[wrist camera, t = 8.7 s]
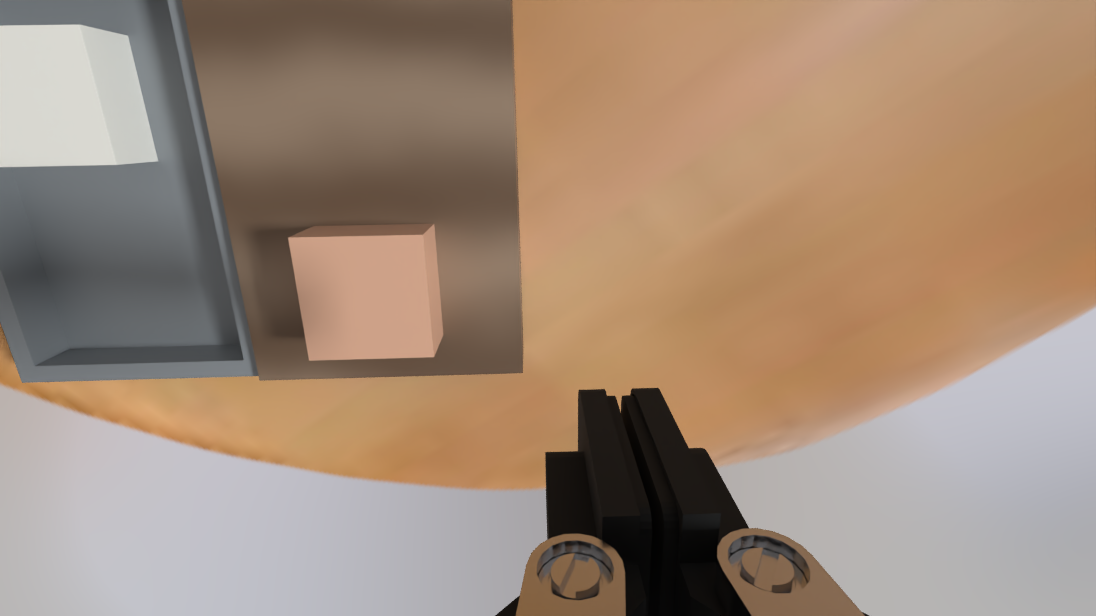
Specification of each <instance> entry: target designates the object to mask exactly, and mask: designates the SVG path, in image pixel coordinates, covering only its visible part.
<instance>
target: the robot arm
mask: <svg viewBox="0 0 1096 616" xmlns="http://www.w3.org/2000/svg"><path fill="white" fill-rule="evenodd" d="M546 502H547V503H546V504H547V505H546V506H547V538H548V539H547V540H546V541H545V542H543V543H541V544H540V545H539V546H538V547H537V548H536V549H535V550H534V551H533V552H532V553H531V555H530V557H529V560H528V562H527V565H526V569H525V574H524V579H523V583H522V588H521V593H520V596H519V597H517V598H516V599H515V600H514V601H512V602H511V603H510V604H509V605H508V606H506V607H505V608H504V609H503V610H502V611H500V612H499V613H498V614H497V615H496V616H869V615H867V614H865V613H863V612H861V611H860V610H859V608H858V607H857V606H856V605H855V604H854V603H853V602H852V600H851V599H850V598H849V597H848V596H847V595H846V594H845V592H844V591H843V590H842V589H841V588H840V587H839V585H838V584H837V583H836V582H835V581H834V580H833V579H832V577H831V576H830V575H829V574H828V573H827V572H826V571H825V569H824V568H823V567H822V566H821V565H820V564H819V562H818V561H817V560H816V559H815V558H814V557H813V556H812V555H811V554H810V553H809V552H808V551H807V550H806V549H805V548H804V547H803V546H801V545H800V544H798V543H796V542H795V541H793V540H792V539H790V538H788V537H786V536H784V535H781V534H778V533H776V532H773V531H769V530H763V529H758V528H751V529H750V528H749V527H748V525H747V524H746V522H745V520H744V518H743V517H742V514H741V513H740V511H739V509H738V507H737V505H736V503H735V502H734V500H733V498H732V496H731V494H730V493H729V491H728V489H727V487H726V485H725V483H724V482H723V480H722V478H721V476H720V474H719V473H718V471H717V469H716V467H715V465H714V463H713V462H712V460H711V458H710V456H709V454H708V453H707V451H706V450H705V449H703V448H688V446H687V444H686V442H685V440H684V438H683V436H682V434H681V432H680V430H679V428H678V426H677V424H676V422H675V420H674V418H673V416H672V414H671V412H670V410H669V408H668V406H667V404H666V402H665V400H664V398H663V396H662V394H661V392H660V390H659V388H639V389H632V390H631V394H630V395H629V396H622V400H621V413H620V409H619V406H618V403H617V400H616V397H615V396H607V395H606V391H605V389H598V390H579V394H578V451H574V452H546Z"/></svg>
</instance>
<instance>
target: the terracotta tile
mask: <svg viewBox="0 0 1096 616" xmlns="http://www.w3.org/2000/svg"><path fill="white" fill-rule="evenodd" d="M288 240H289V246H290V252H291V258H292V264H293V269H294V275H295V281H296V287H297V293H298V299H299V305H300V310H301V316H302V322H303V328H304V334H305V340H306V346H307V351H308V357H309V361H315V360H351V359H387V358H424V357H434V356H435V354H436V351H437V349H438V346H439V344H440V342H441V339H442V337H443V324H442V312H441V300H440V288H439V276H438V264H437V252H436V240H435V227H434V224H391V225H343V226H313V227H310V228H308V229H306V230H304V231H302V232H299V233H297V234H295V235H293V236H290V237H288Z"/></svg>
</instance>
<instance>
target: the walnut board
mask: <svg viewBox="0 0 1096 616" xmlns="http://www.w3.org/2000/svg"><path fill="white" fill-rule="evenodd" d="M182 5H183V10H184V15H185V19H186V24H187V29H188V34H189V39H190V44H191V49H192V54H193V58H194V63H195V68H196V73H197V78H198V83H199V88H200V93H201V97H202V102H203V107H204V112H205V117H206V122H207V127H208V131H209V136H210V141H211V146H212V151H213V156H214V161H215V166H216V170H217V175H218V180H219V185H220V190H221V195H222V200H223V204H224V209H225V214H226V219H227V224H228V229H229V234H230V239H231V243H232V248H233V253H234V258H235V263H236V268H237V273H238V277H239V282H240V287H241V292H242V297H243V302H244V307H245V312H246V316H247V321H248V326H249V331H250V336H251V341H252V346H253V350H254V355H255V360H256V365H257V370H258V375H259V380H295V379H330V378H365V377H401V376H436V375H471V374H506V373H523V324H522V293H521V262H520V230H519V199H518V168H517V137H516V105H515V74H514V43H513V11H512V0H182ZM391 224H434V227H435V240H436V252H437V264H438V276H439V288H440V300H441V312H442V324H443V337H442V339H441V342H440V344H439V346H438V349H437V351H436V354H435V356H434V357H424V358H387V359H351V360H315V361H309V357H308V351H307V346H306V340H305V334H304V328H303V322H302V316H301V310H300V305H299V299H298V293H297V287H296V281H295V275H294V269H293V264H292V258H291V252H290V246H289V240H288V237H290V236H293V235H295V234H297V233H299V232H302V231H304V230H306V229H308V228H310V227H313V226H343V225H391Z"/></svg>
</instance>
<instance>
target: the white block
mask: <svg viewBox="0 0 1096 616" xmlns="http://www.w3.org/2000/svg"><path fill="white" fill-rule="evenodd" d="M156 161H158V158H157V154H156V150H155V146H154V142H153V138H152V134H151V129H150V125H149V121H148V117H147V113H146V109H145V104H144V100H143V96H142V92H141V88H140V84H139V80H138V75H137V71H136V67H135V63H134V59H133V55H132V51H131V46H130V42H129V38H128V36H127V35H123V34H118V33H114V32H110V31H105V30H101V29H97V28H93V27H88V26H84V25H80V24H79V25H6V26H0V167H38V166H86V165H121V164H133V163H144V162H156Z"/></svg>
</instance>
